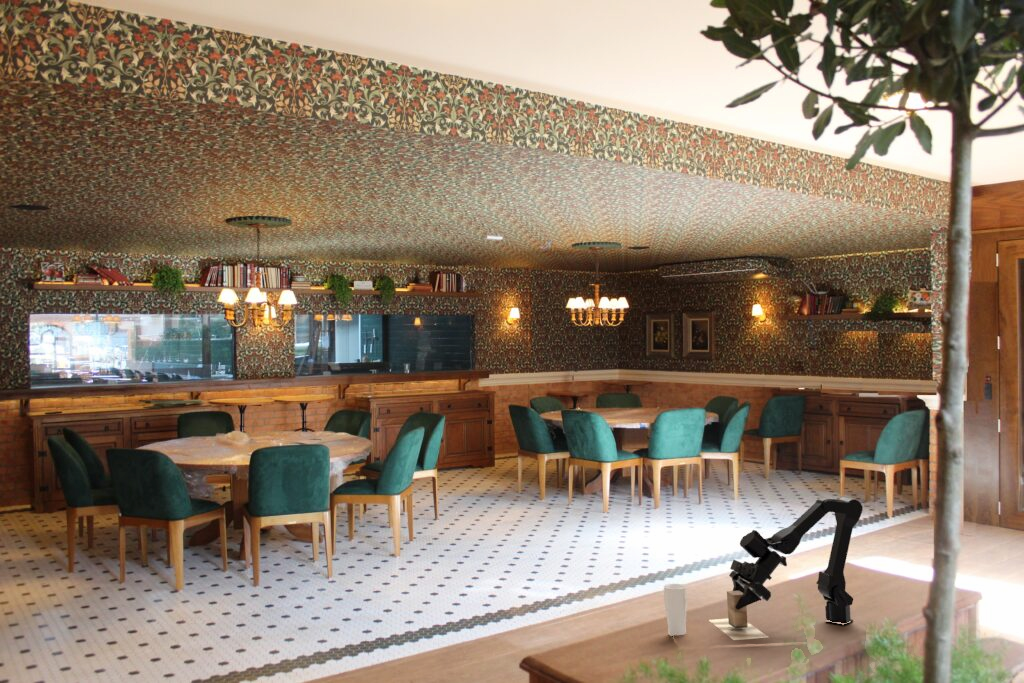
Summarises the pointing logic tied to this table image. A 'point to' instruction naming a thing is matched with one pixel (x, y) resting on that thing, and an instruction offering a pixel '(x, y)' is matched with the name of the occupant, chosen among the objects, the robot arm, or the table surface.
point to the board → (738, 630)
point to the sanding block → (736, 616)
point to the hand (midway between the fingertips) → (732, 606)
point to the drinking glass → (675, 608)
